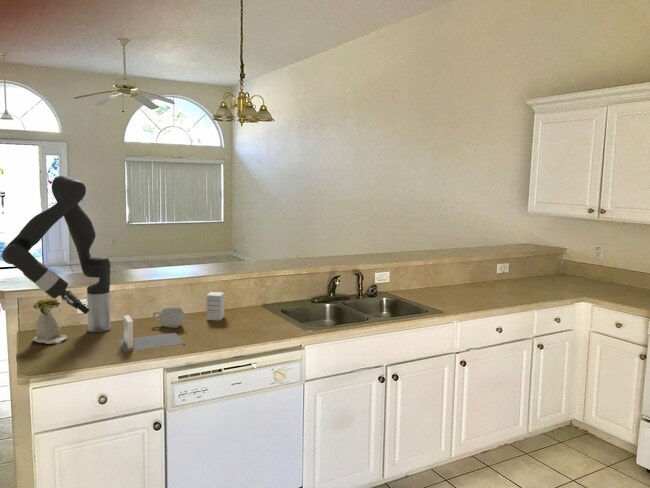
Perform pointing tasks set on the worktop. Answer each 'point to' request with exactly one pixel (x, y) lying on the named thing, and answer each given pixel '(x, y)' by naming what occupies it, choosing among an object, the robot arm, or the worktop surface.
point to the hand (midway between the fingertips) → (87, 311)
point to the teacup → (170, 317)
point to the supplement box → (215, 306)
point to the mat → (153, 341)
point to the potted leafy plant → (47, 322)
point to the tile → (128, 331)
